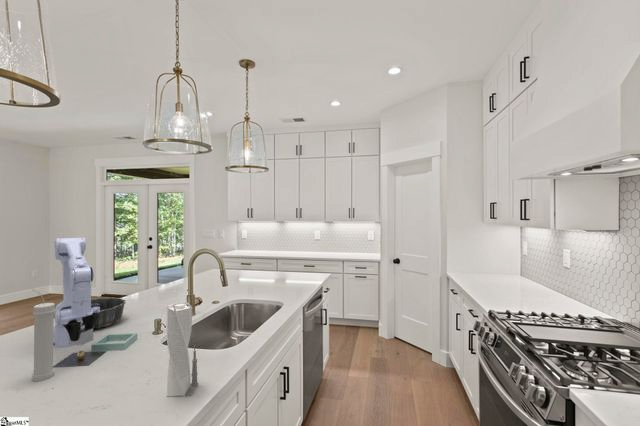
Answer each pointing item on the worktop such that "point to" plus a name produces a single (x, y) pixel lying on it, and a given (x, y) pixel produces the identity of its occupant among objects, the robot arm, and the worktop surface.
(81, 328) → the grey block
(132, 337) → the bin
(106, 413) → the worktop surface
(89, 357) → the square lid with knob
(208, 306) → the worktop surface
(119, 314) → the bundt pan
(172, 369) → the skyscraper
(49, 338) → the pipe
